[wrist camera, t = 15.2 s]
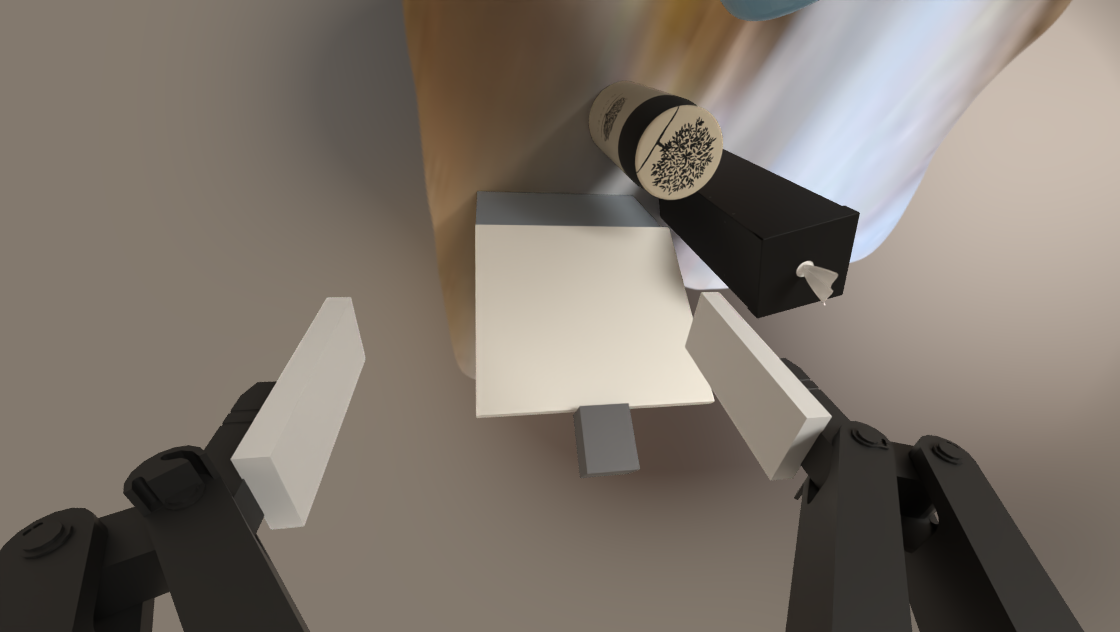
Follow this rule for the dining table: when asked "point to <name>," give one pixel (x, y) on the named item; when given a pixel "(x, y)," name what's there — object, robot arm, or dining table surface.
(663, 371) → the lid
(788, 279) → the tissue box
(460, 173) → the dining table surface
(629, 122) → the travel mug
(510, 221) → the carton
